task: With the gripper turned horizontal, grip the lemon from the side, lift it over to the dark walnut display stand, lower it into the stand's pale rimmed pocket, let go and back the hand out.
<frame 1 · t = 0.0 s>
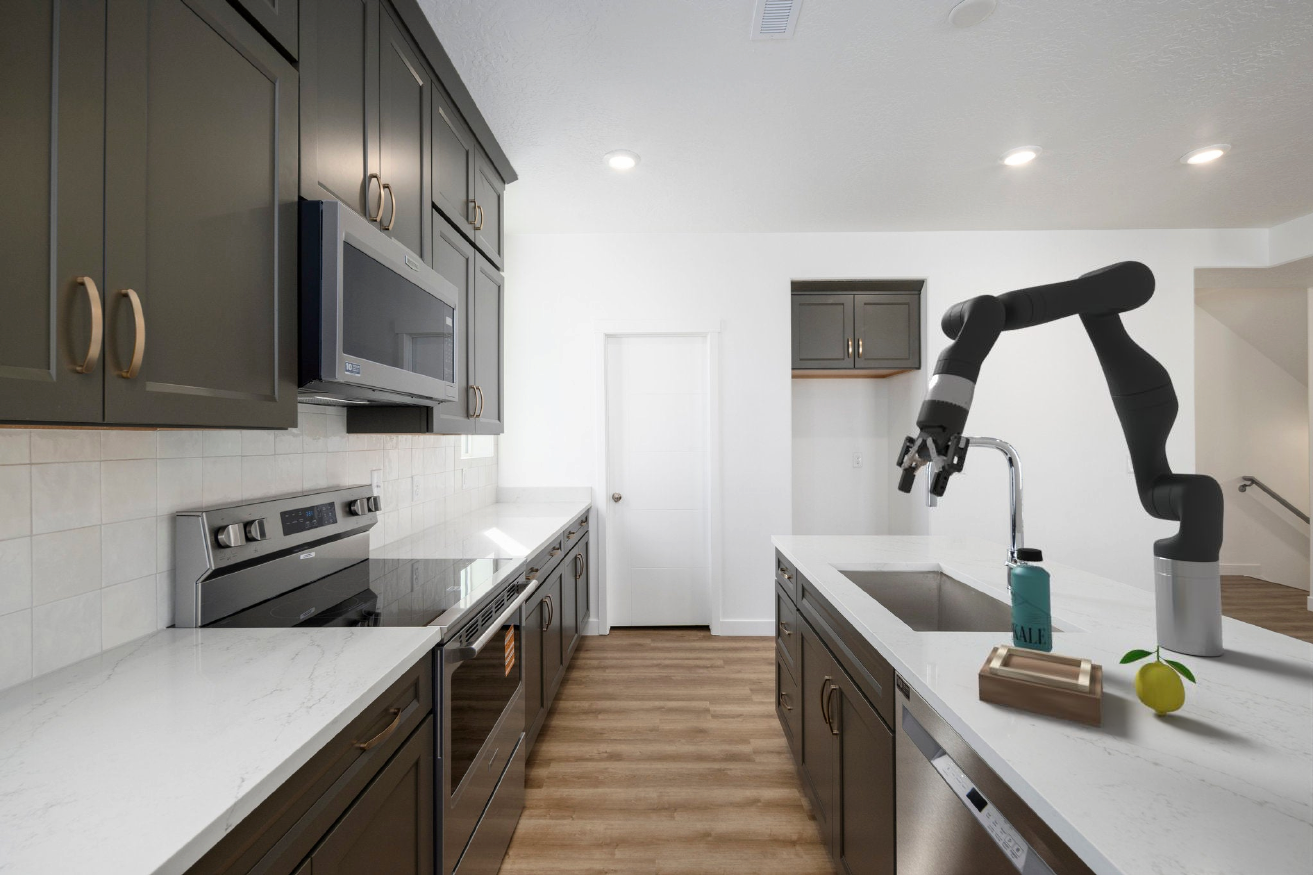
hand: (918, 493, 98), 31 cm above the worktop, tool tilted 20°, fingers open, 8 cm apart
display stand: (1041, 695, 90), on the worktop
lemon: (1159, 716, 83), on the worktop
beverage bottle: (1032, 656, 107), on the worktop
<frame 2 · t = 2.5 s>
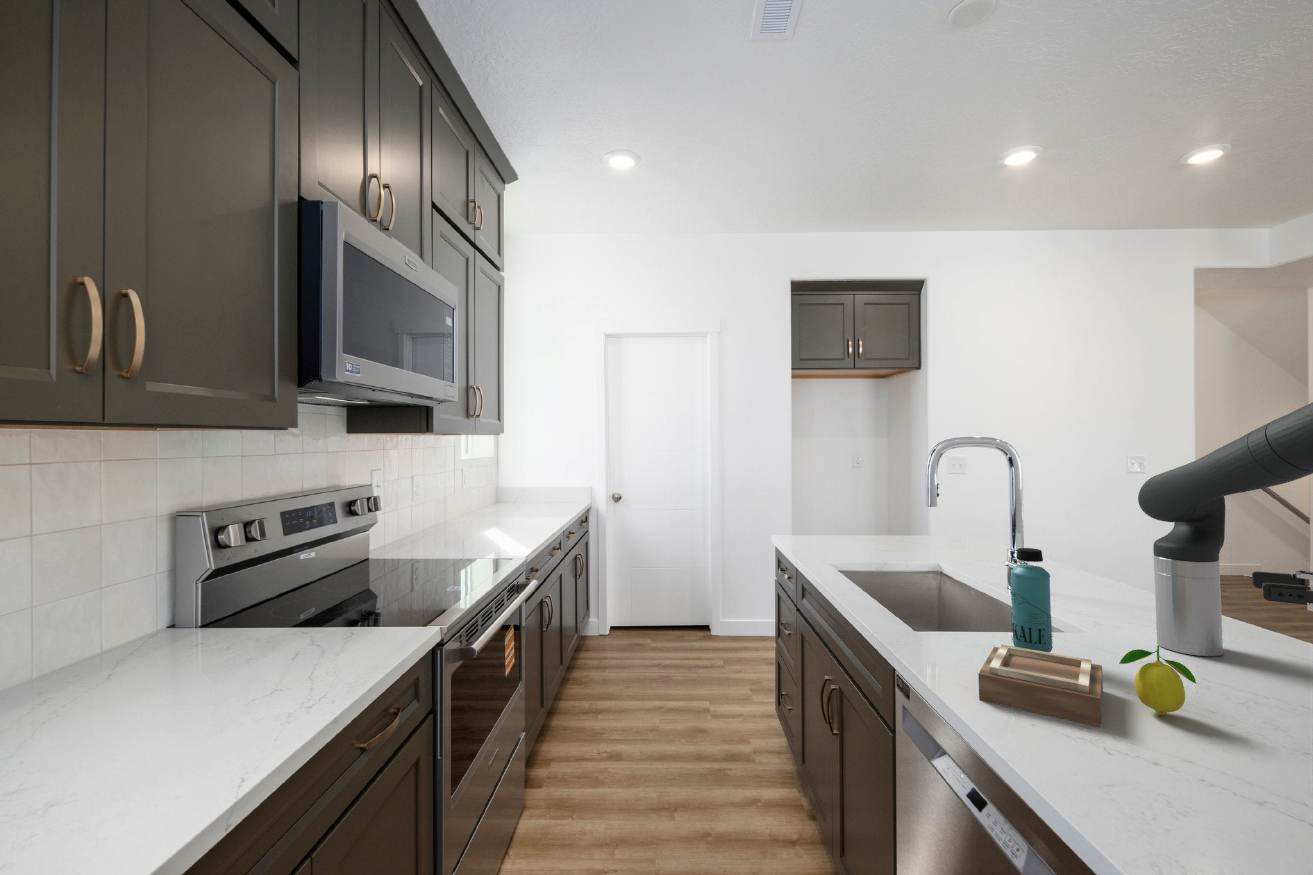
hand: (1257, 585, 77), 20 cm above the worktop, tool horizontal, fingers open, 8 cm apart
nothing on the worktop moved.
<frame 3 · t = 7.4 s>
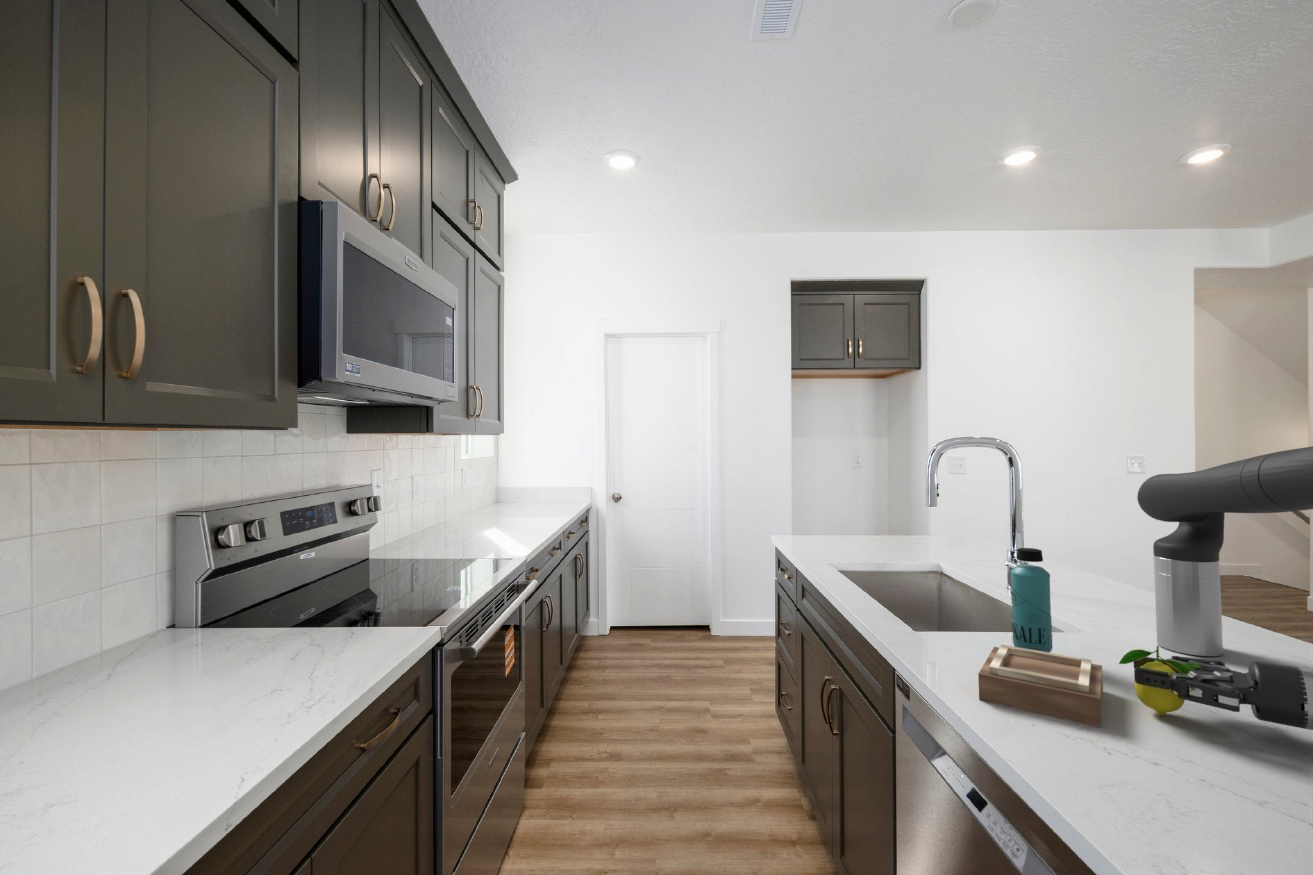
hand: (1134, 668, 85), 6 cm above the worktop, tool horizontal, fingers closed on lemon, 5 cm apart
lemon: (1159, 716, 83), on the worktop, touching gripper
everything else where it was.
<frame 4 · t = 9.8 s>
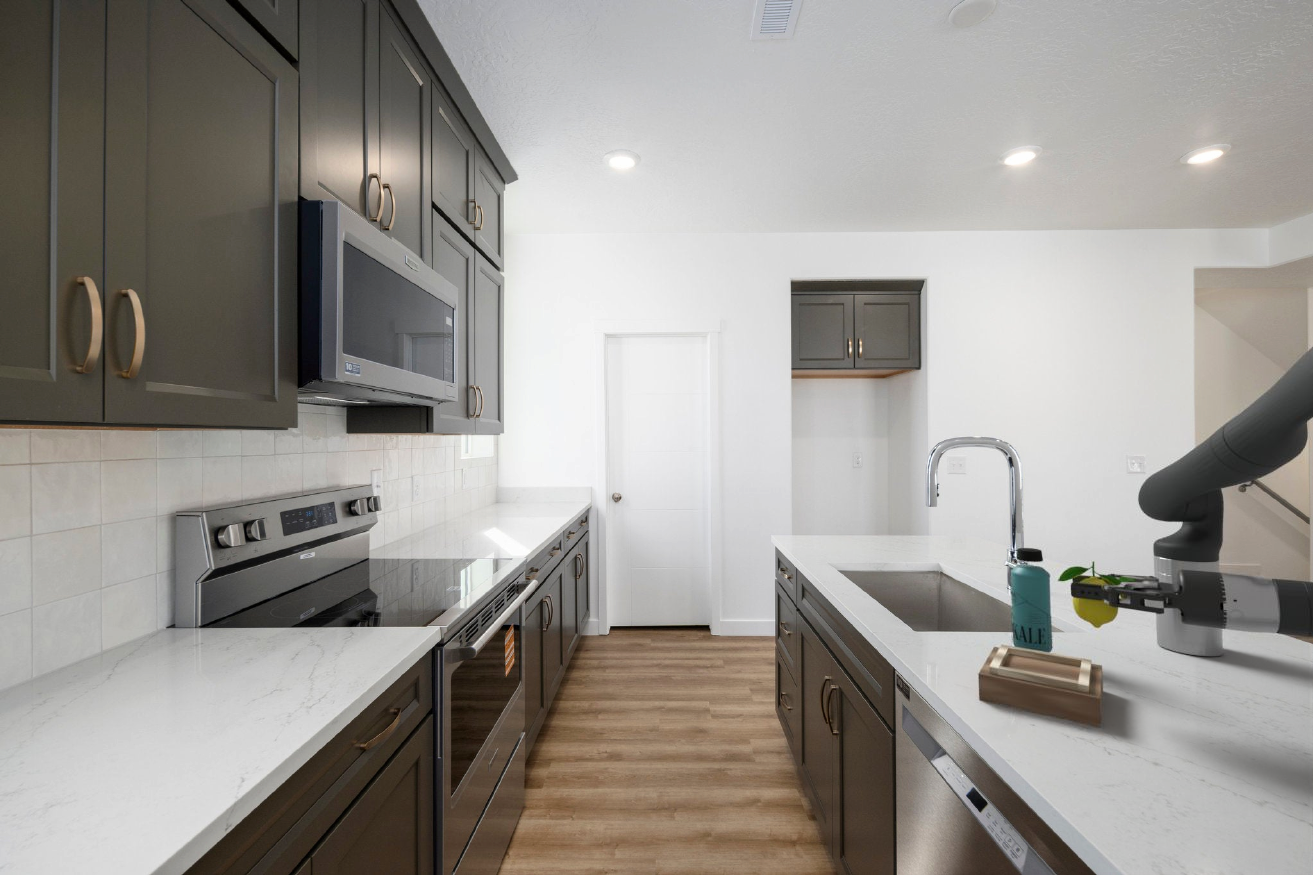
hand: (1072, 585, 88), 18 cm above the worktop, tool horizontal, fingers closed on lemon, 5 cm apart
lemon: (1095, 629, 87), point 11 cm above the worktop, touching gripper
everything else where it was.
when the fingers open (12 cm above the worktop, at t = 12.3 s): lemon drops 2 cm, resting on display stand.
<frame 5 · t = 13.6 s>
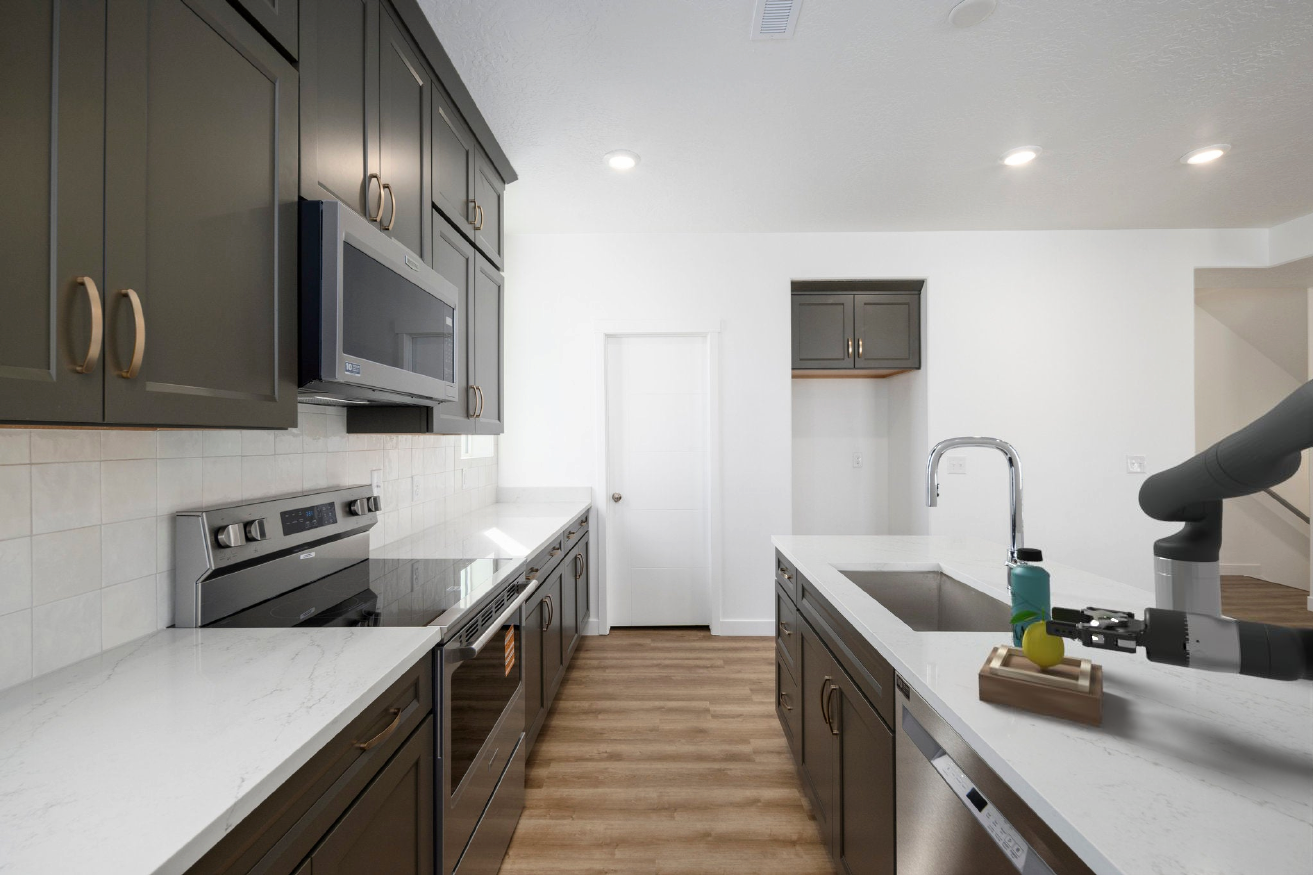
hand: (1049, 619, 90), 12 cm above the worktop, tool horizontal, fingers open, 8 cm apart
lemon: (1042, 670, 90), point 4 cm above the worktop, touching display stand
everything else where it was.
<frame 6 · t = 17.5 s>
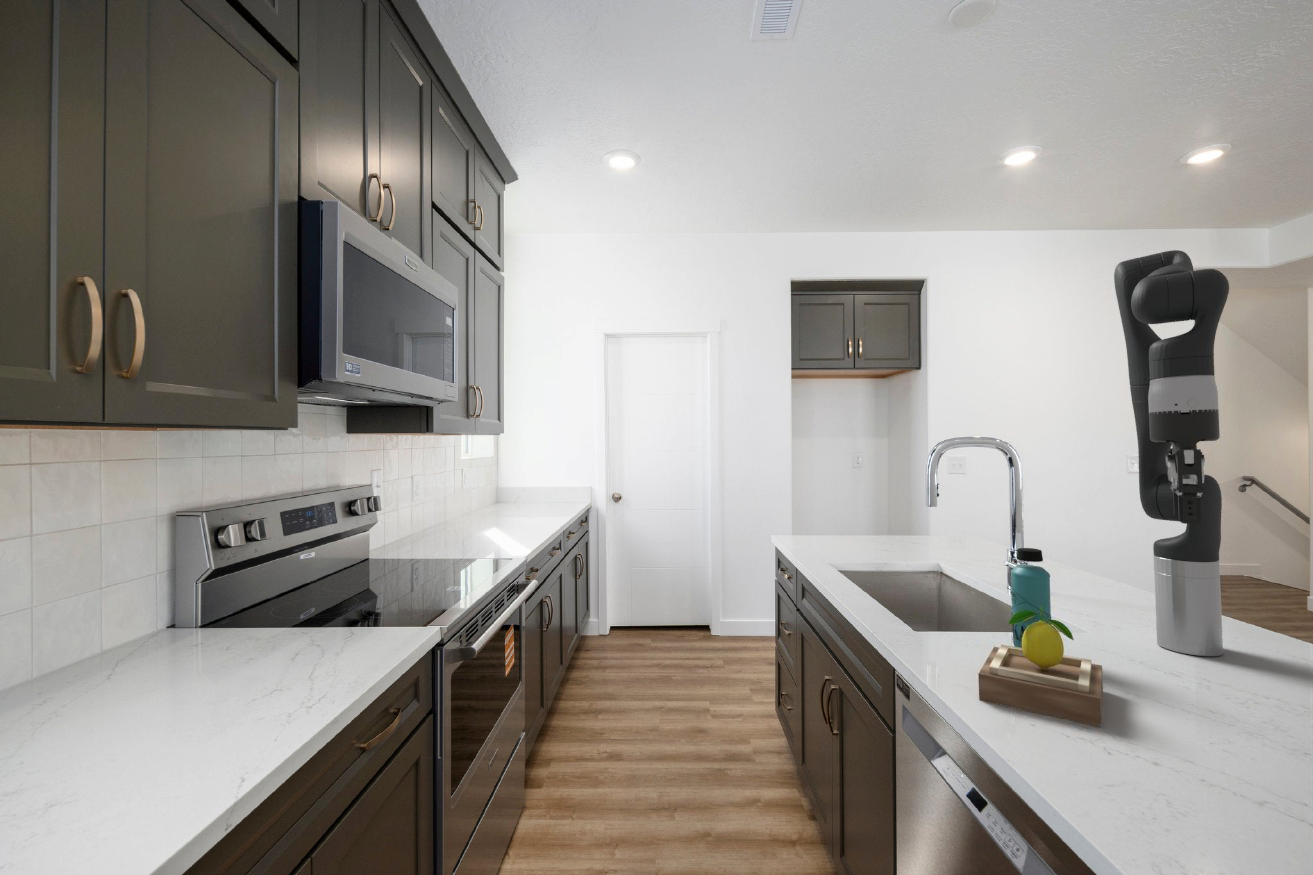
hand: (1186, 520, 83), 28 cm above the worktop, tool pointing down, fingers open, 8 cm apart
nothing on the worktop moved.
at the end: lemon inside the target area on the display stand (0.2 cm from its centre), point 3.8 cm above the display stand's base; lemon tilted 0°; the gripper is holding nothing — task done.
